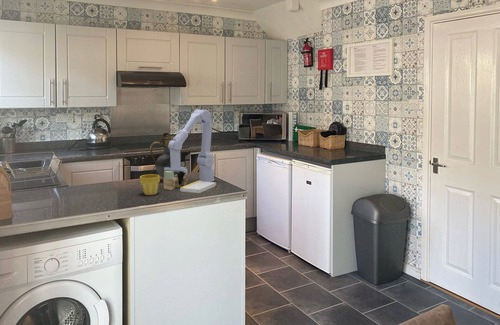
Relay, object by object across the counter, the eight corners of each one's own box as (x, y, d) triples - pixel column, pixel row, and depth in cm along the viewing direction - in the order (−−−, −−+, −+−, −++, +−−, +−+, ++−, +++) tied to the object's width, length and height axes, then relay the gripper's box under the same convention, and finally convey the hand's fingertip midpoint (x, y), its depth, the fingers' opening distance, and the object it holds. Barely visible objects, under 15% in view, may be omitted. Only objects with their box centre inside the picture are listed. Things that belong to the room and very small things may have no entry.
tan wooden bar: (180, 183, 258) (180, 173, 257) (187, 183, 256) (187, 173, 255) (163, 189, 241) (163, 178, 240) (171, 189, 239) (171, 179, 238)
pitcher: (184, 180, 264) (182, 132, 259) (153, 183, 255) (151, 133, 250) (178, 177, 274) (177, 131, 269) (149, 180, 265) (147, 132, 260)
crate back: (181, 173, 256) (181, 166, 256) (187, 173, 255) (186, 167, 254) (177, 174, 253) (177, 167, 252) (183, 175, 251) (183, 168, 251)
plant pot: (139, 192, 233) (138, 174, 232) (158, 190, 237) (158, 173, 236) (141, 196, 224) (141, 178, 222) (161, 195, 228) (161, 177, 226)
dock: (198, 184, 254) (198, 180, 254) (216, 185, 250) (216, 182, 249) (180, 191, 236) (180, 187, 236) (199, 193, 231) (199, 189, 231)
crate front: (167, 177, 244) (167, 170, 243) (174, 178, 242) (173, 171, 242) (164, 178, 240) (163, 171, 239) (170, 179, 239) (170, 172, 238)
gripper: (160, 161, 245) (161, 184, 247) (182, 162, 240) (183, 186, 242) (167, 159, 252) (168, 181, 254) (189, 160, 246) (189, 183, 248)
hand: (176, 183), depth 248 cm, fingers closed on tan wooden bar, 5 cm apart
